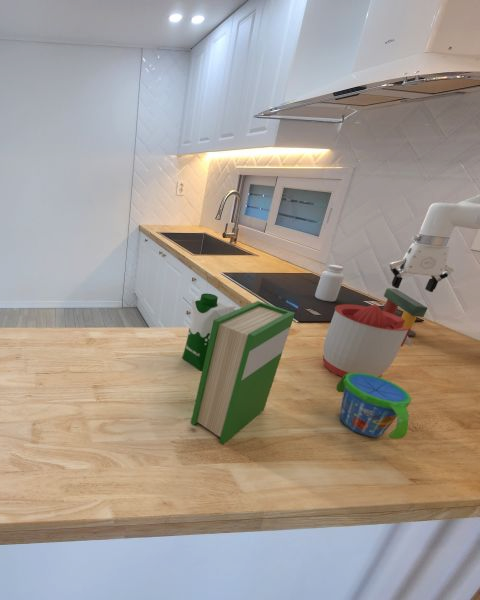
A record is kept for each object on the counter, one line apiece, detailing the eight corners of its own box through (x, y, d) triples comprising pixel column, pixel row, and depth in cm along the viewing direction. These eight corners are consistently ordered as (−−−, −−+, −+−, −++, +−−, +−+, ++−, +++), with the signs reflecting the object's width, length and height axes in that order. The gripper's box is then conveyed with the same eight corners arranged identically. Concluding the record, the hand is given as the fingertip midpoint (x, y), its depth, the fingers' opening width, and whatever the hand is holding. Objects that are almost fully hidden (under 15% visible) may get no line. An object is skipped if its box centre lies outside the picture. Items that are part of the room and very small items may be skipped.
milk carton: (177, 357, 95) (189, 291, 87) (200, 351, 99) (214, 287, 92) (201, 374, 88) (216, 303, 80) (224, 366, 92) (241, 298, 84)
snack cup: (314, 399, 80) (329, 363, 77) (362, 405, 79) (378, 368, 75) (355, 450, 66) (375, 408, 62) (414, 457, 65) (438, 416, 61)
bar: (393, 297, 130) (397, 289, 129) (423, 317, 112) (427, 307, 111) (383, 296, 131) (386, 287, 130) (411, 315, 113) (416, 306, 112)
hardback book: (223, 445, 65) (253, 336, 56) (190, 422, 71) (213, 319, 62) (264, 409, 76) (295, 312, 67) (232, 392, 81) (257, 300, 72)
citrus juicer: (399, 399, 82) (436, 326, 75) (315, 374, 91) (341, 306, 83) (387, 370, 95) (417, 305, 87) (314, 350, 103) (336, 289, 96)
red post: (391, 317, 132) (400, 298, 129) (401, 324, 126) (410, 305, 123) (370, 314, 134) (378, 295, 131) (378, 321, 128) (387, 301, 125)
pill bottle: (321, 294, 153) (332, 263, 148) (339, 301, 146) (352, 268, 141) (310, 296, 150) (320, 263, 145) (327, 302, 144) (339, 269, 138)
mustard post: (408, 330, 121) (417, 310, 118) (419, 338, 115) (429, 317, 112) (385, 326, 123) (393, 306, 120) (394, 334, 117) (404, 313, 114)
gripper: (406, 240, 112) (387, 288, 118) (472, 245, 107) (449, 295, 113) (394, 236, 118) (377, 282, 125) (457, 241, 113) (435, 289, 120)
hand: (411, 288), depth 119 cm, fingers open, 9 cm apart
